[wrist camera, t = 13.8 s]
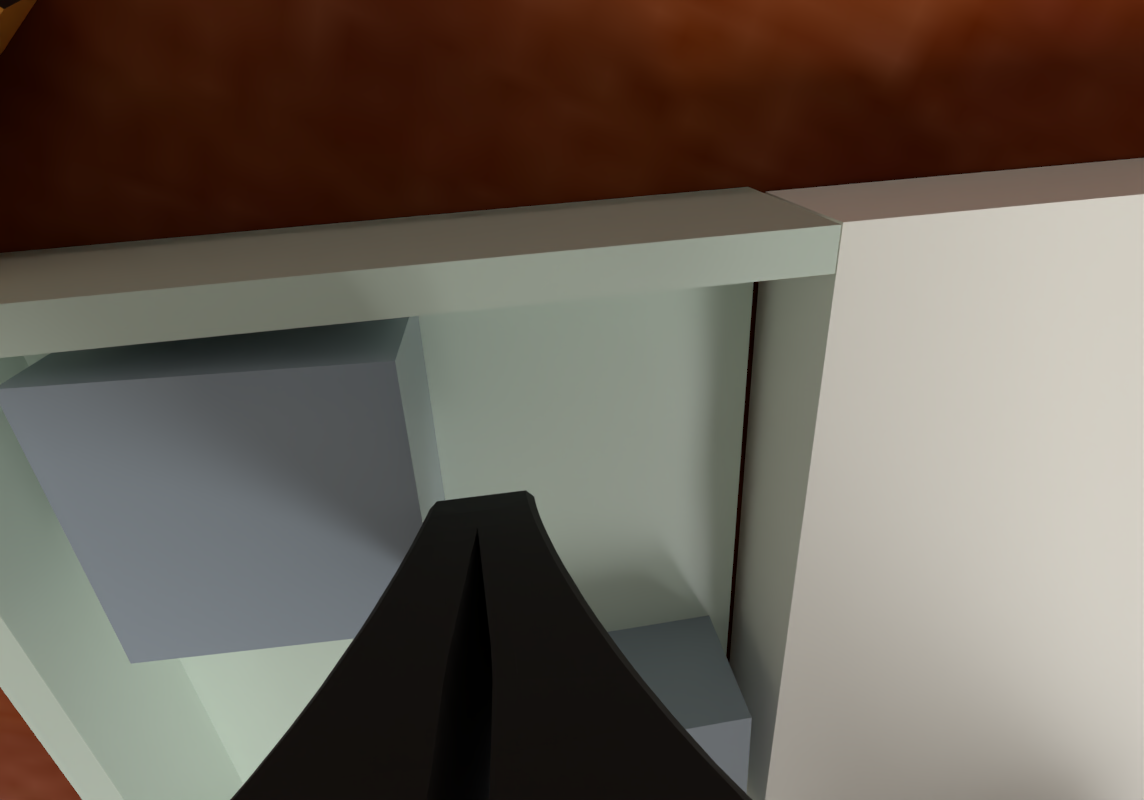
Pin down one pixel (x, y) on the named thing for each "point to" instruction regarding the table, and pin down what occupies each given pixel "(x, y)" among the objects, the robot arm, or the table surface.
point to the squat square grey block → (694, 686)
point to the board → (950, 495)
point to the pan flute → (12, 18)
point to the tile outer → (235, 479)
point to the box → (461, 418)
